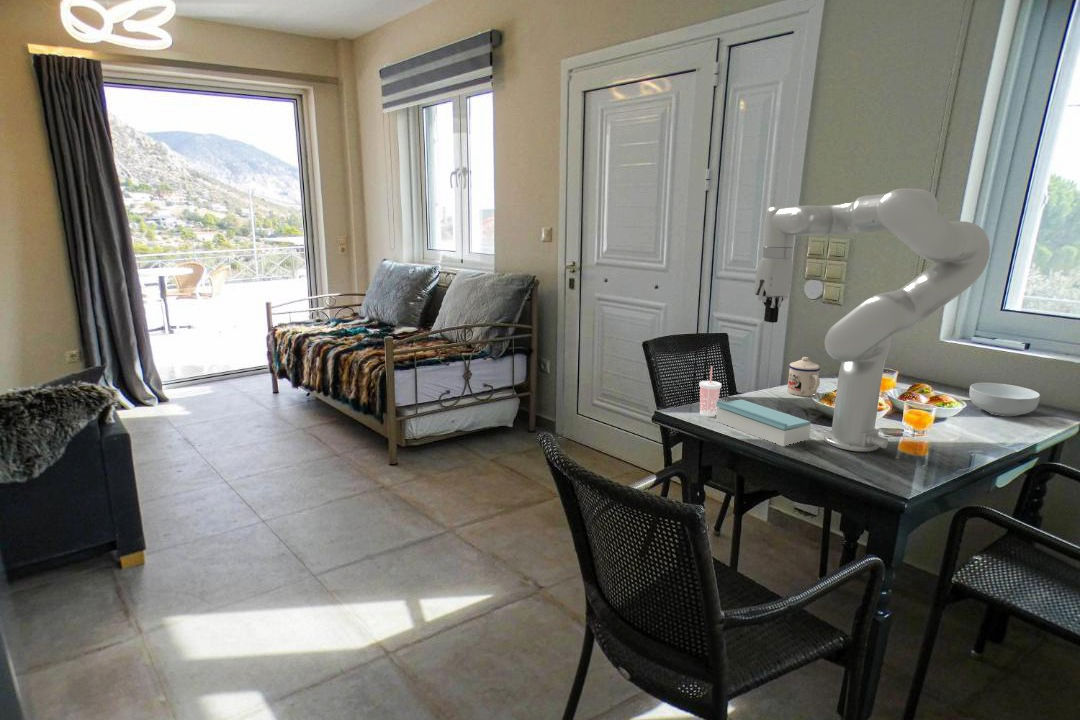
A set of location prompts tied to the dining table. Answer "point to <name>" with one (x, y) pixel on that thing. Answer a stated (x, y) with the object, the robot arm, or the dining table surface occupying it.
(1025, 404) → the cereal bowl
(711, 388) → the beverage cup
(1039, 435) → the dining table surface
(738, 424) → the hinged pencil box
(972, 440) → the dining table surface
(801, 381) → the teacup with lid
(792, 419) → the cover
